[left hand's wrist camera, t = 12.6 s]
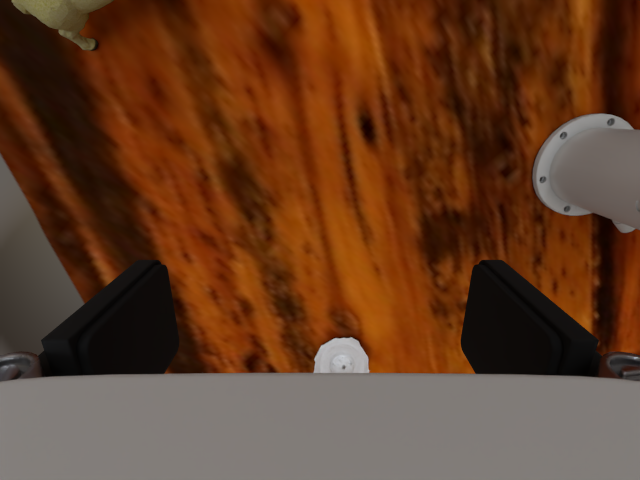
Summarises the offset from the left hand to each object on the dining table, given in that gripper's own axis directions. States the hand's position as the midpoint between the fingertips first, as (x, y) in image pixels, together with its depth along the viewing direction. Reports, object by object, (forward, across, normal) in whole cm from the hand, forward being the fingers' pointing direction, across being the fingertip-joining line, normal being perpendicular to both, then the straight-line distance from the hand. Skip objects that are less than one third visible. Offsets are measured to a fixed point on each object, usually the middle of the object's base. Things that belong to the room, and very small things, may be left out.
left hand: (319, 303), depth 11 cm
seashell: (+36, -3, +30) cm, 47 cm away
